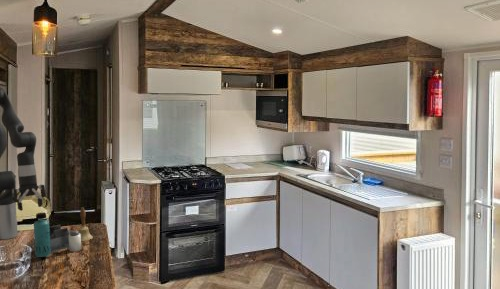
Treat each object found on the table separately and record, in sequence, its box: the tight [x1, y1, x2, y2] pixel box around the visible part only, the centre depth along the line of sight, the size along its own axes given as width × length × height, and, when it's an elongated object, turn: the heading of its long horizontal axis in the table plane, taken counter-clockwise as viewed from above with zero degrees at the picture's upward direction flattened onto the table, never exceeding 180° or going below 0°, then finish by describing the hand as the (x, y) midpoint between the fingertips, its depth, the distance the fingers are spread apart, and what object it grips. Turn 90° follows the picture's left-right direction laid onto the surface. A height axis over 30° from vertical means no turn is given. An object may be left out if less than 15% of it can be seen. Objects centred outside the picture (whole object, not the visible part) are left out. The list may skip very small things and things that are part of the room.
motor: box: [49, 224, 72, 253], centre depth 200 cm, size 17×8×10 cm, turn 138°
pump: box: [68, 230, 82, 252], centre depth 199 cm, size 5×5×8 cm
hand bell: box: [78, 206, 94, 242], centre depth 213 cm, size 8×8×16 cm
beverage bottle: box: [33, 212, 52, 258], centre depth 188 cm, size 6×7×20 cm
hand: (30, 208), depth 203 cm, fingers open, 8 cm apart
